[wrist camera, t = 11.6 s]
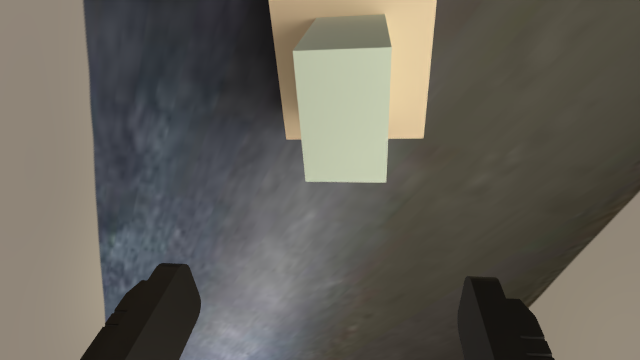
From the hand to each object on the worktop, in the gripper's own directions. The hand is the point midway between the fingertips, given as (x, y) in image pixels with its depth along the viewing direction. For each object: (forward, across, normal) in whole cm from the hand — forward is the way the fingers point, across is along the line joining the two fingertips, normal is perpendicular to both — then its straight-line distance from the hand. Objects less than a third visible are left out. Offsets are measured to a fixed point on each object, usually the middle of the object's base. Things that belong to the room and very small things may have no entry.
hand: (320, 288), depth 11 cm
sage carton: (+22, 0, 0) cm, 22 cm away
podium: (+28, 0, 0) cm, 28 cm away
